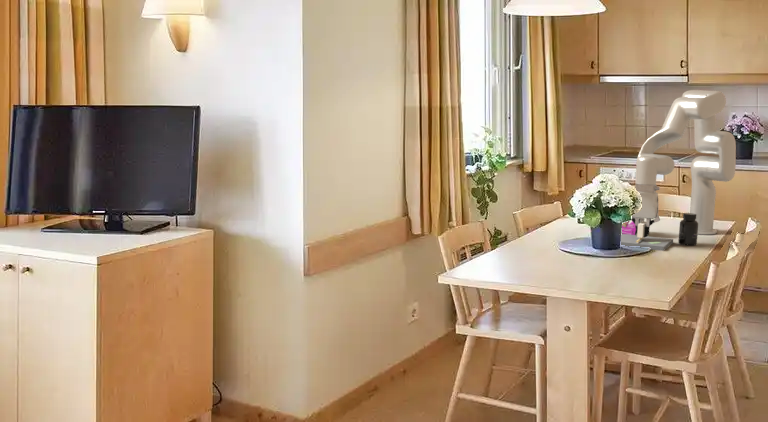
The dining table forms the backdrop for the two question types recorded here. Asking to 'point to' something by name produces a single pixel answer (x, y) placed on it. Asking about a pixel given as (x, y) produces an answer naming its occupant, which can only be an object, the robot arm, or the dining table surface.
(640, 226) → the white ice pop
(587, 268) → the dining table surface
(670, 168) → the robot arm
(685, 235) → the supplement bottle
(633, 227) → the candy bar box
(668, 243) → the slate dial board
